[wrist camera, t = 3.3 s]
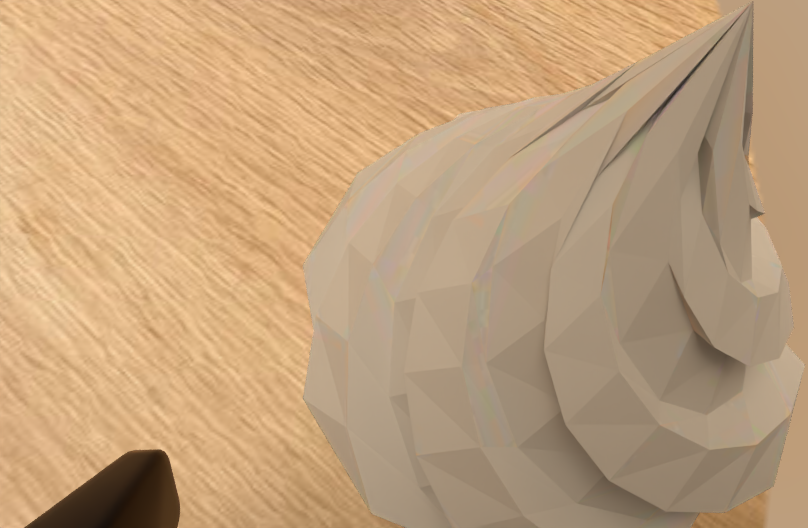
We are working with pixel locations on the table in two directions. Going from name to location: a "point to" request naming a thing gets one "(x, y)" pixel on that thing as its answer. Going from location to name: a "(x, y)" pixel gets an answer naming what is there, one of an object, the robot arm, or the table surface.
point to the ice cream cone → (562, 307)
